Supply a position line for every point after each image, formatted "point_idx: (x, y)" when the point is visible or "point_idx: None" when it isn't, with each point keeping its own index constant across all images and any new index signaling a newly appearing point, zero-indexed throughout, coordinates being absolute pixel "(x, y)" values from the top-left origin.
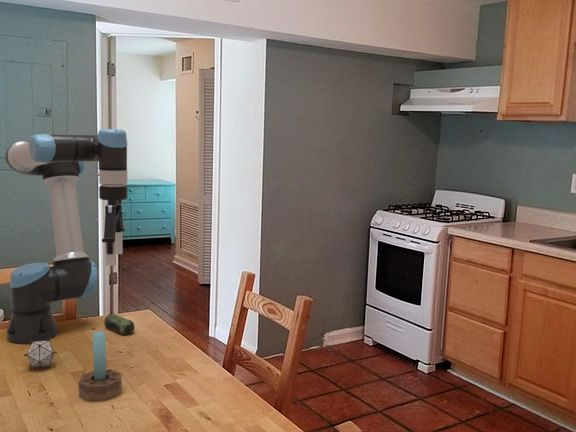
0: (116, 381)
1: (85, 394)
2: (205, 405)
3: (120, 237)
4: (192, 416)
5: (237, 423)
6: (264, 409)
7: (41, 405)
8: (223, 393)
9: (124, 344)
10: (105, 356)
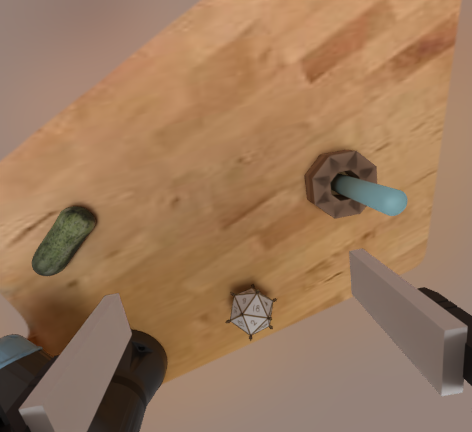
0: (360, 154)
1: None
2: None
3: (72, 376)
4: (426, 3)
5: None
6: None
7: (371, 246)
8: None
9: (139, 205)
10: (365, 181)
